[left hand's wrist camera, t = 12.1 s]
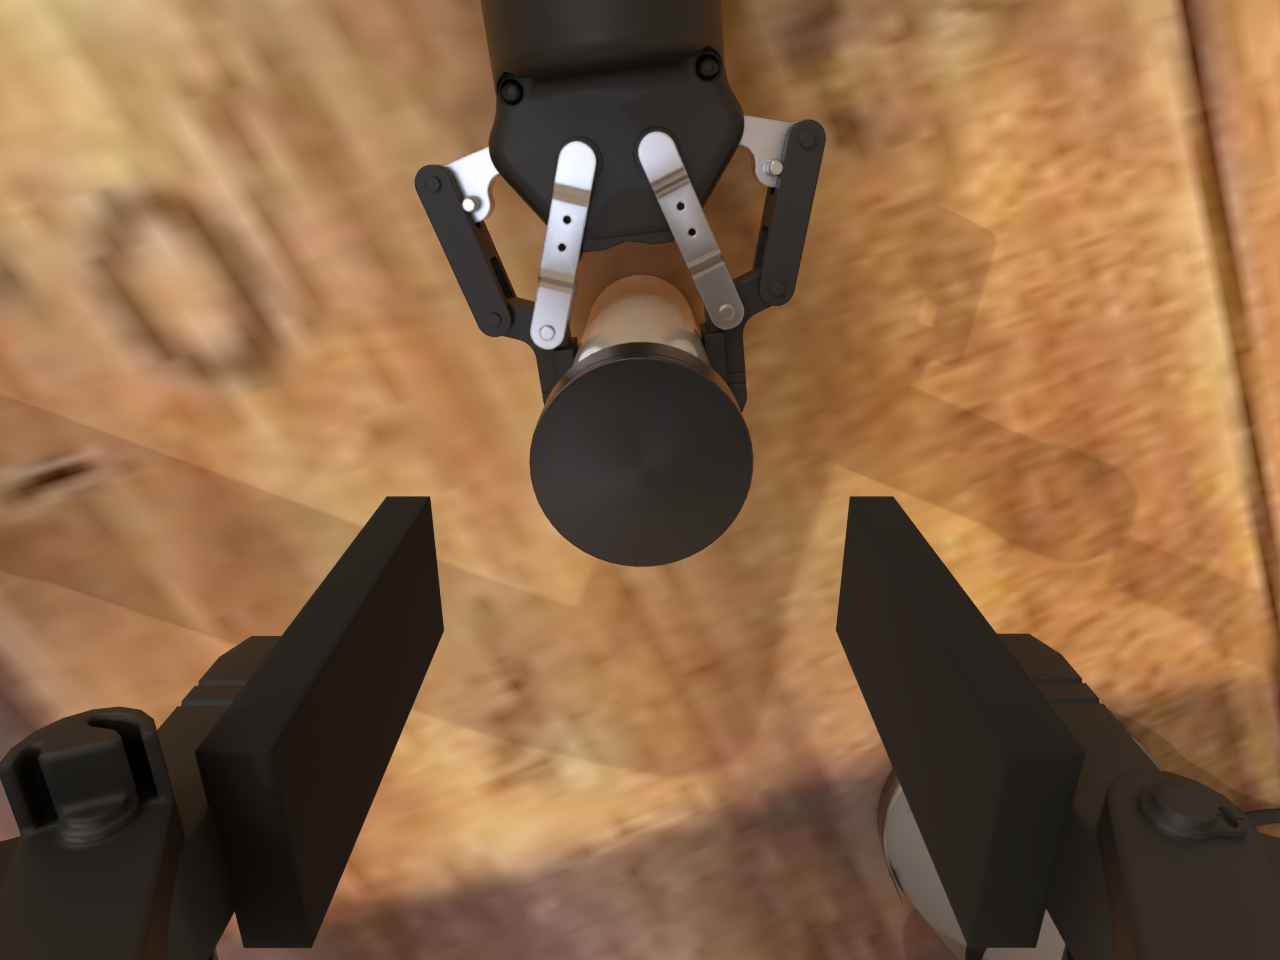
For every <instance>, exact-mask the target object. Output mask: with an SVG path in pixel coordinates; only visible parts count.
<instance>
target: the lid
mask: <svg viewBox="0 0 1280 960" xmlns="http://www.w3.org/2000/svg"><path fill="white" fill-rule="evenodd" d="M530 474H531V480H532V485H533V489H534V492H535V495H536V497H537V500H538V503H539V505H540V506H541V508H542V510H543V512H544V514H545V515H546V517H547V518H548V520H549V521H550V522H551V524H552V525H553V526H554V527H555V529H556V530H557V531H558V532H559V533H560V534H561V535H562V536H563V537H564V538H566V539H567V540H568V541H569V542H570V543H572V544H573V545H574V546H576V547H577V548H579V549H581V550H582V551H584V552H586V553H588V554H590V555H592V556H594V557H596V558H598V559H601V560H604V561H607V562H610V563H615V564H620V565H625V566H636V567H643V566H657V565H664V564H668V563H672V562H676V561H679V560H682V559H684V558H687V557H689V556H692V555H693V554H695V553H697V552H699V551H701V550H703V549H704V548H706V547H707V546H708V545H710V544H711V543H713V542H714V541H715V540H716V539H717V538H718V537H720V536H721V535H722V534H723V533H724V532H725V531H726V530H727V528H728V527H729V526H730V525H731V524H732V523H733V521H734V520H735V518H736V517H737V515H738V514H739V512H740V510H741V508H742V506H743V504H744V502H745V500H746V498H747V495H748V492H749V488H750V485H751V480H752V474H753V450H752V443H751V439H750V435H749V431H748V428H747V426H746V423H745V421H744V418H743V416H742V413H741V411H740V408H739V406H738V404H737V401H736V399H735V397H734V395H733V393H732V392H731V390H730V388H729V387H728V385H727V384H726V383H725V382H724V380H723V379H722V378H721V376H720V375H719V374H718V373H716V372H715V371H714V370H713V369H712V368H711V367H710V366H709V365H708V364H706V363H705V362H703V361H702V360H701V359H699V358H698V357H696V356H694V355H692V354H690V353H688V352H686V351H684V350H681V349H679V348H676V347H673V346H669V345H665V344H661V343H652V342H630V343H623V344H617V345H614V346H610V347H607V348H604V349H602V350H599V351H597V352H595V353H592V354H591V355H589V356H587V357H586V358H584V359H582V360H581V361H579V362H578V363H577V364H575V365H574V366H573V367H572V368H571V369H569V370H568V371H567V372H566V373H565V374H564V376H563V377H562V378H561V379H560V380H559V381H558V383H557V384H556V385H555V387H554V388H553V390H552V391H551V393H550V395H549V397H548V399H547V401H546V403H545V405H544V408H543V410H542V413H541V415H540V418H539V420H538V423H537V426H536V429H535V431H534V434H533V439H532V443H531V448H530Z"/></svg>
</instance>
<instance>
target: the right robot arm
mask: <svg viewBox="0 0 1280 960" xmlns="http://www.w3.org/2000/svg"><path fill="white" fill-rule="evenodd" d="M481 5H482V11H483V18H484V24H485V30H486V36H487V42H488V49H489V55H490V61H491V67H492V73H493V80H494V86H495V92H496V115H495V120H494V124H493V127H492V130H491V133H490V136H489V147H486V148H484V149H482V150H479V151H477V152H475V153H472V154H470V155H468V156H465V157H463V158H461V159H458V160H456V161H454V162H451V163H449V164H446V165H426V166H424V167H422V168H421V169H420V170H419V171H418V173H417V174H416V177H415V188H416V191H417V193H418V195H419V197H420V200H421V202H422V204H423V206H424V208H425V211H426V213H427V215H428V217H429V219H430V222H431V224H432V226H433V228H434V230H435V232H436V235H437V237H438V239H439V241H440V243H441V246H442V248H443V250H444V252H445V254H446V257H447V259H448V261H449V263H450V265H451V267H452V270H453V272H454V274H455V276H456V278H457V281H458V283H459V285H460V287H461V289H462V292H463V294H464V296H465V298H466V300H467V302H468V305H469V307H470V309H471V311H472V313H473V316H474V318H475V320H476V322H477V324H478V326H479V328H480V330H481V331H482V332H483V333H484V334H486V335H488V336H491V337H499V336H505V337H510V338H514V339H518V340H521V341H524V342H526V343H527V344H528V345H529V346H531V348H532V349H533V350H534V352H535V355H536V358H537V364H538V371H539V377H540V383H541V389H542V394H543V402H544V405H545V403H546V401H547V399H548V397H549V395H550V393H551V391H552V390H553V388H554V387H555V385H556V384H557V383H558V381H559V380H560V379H561V378H562V377H563V376H564V374H565V373H566V372H567V371H568V370H569V369H571V368H572V365H573V362H574V359H575V356H576V353H577V350H578V340H577V337H571V333H570V326H569V325H570V320H571V315H572V310H573V305H574V299H575V294H576V289H577V284H578V279H579V275H580V271H581V267H582V262H583V256H584V252H590V251H599V250H606V249H608V248H611V247H613V246H616V245H618V244H620V243H623V242H625V241H633V242H640V243H646V244H658V243H667V242H674V241H673V239H675V240H676V243H677V245H678V247H679V249H680V252H681V254H682V256H683V258H684V261H685V263H686V265H687V267H688V269H689V272H690V274H691V276H692V278H693V281H694V283H695V285H696V287H697V290H698V292H699V294H700V296H701V299H702V301H703V303H704V311H705V323H700V328H701V340H702V342H703V345H704V348H705V351H706V354H707V357H708V360H709V363H710V366H711V368H712V369H713V370H714V371H715V372H716V373H718V374H719V375H720V376H721V378H722V379H723V380H724V382H725V383H726V384H727V385H728V387H729V388H730V390H731V392H732V393H733V395H734V397H735V399H736V401H737V404H738V406H739V408H740V411H741V412H743V409H744V406H745V403H746V400H747V392H746V377H745V363H744V348H743V329H744V326H745V324H746V322H747V321H748V319H749V318H750V317H751V316H753V315H754V314H756V313H758V312H760V311H762V310H764V309H766V308H768V307H770V306H780V305H783V304H785V303H787V302H788V301H789V300H790V299H791V297H792V296H793V293H794V290H795V285H796V280H797V275H798V271H799V266H800V261H801V256H802V251H803V247H804V242H805V237H806V232H807V227H808V223H809V218H810V213H811V208H812V204H813V199H814V194H815V189H816V184H817V180H818V175H819V170H820V165H821V160H822V156H823V151H824V146H825V140H826V136H825V132H824V129H823V127H822V126H821V125H820V124H819V123H818V122H816V121H814V120H799V121H795V122H785V121H779V120H772V119H766V118H759V117H753V116H747V115H744V114H743V111H742V108H741V106H740V104H739V102H738V100H737V99H736V97H735V95H734V94H733V92H732V90H731V88H730V86H729V83H728V80H727V76H726V71H725V64H724V49H723V34H722V19H721V4H720V0H481ZM738 146H741V147H743V148H744V149H746V150H747V151H748V153H749V154H750V156H751V160H752V174H753V177H754V179H755V180H756V181H757V182H758V183H759V184H761V185H763V186H768V190H767V195H766V200H765V206H764V211H763V216H762V221H761V227H760V232H759V237H758V243H757V248H756V253H755V259H754V264H753V269H752V270H751V271H749V272H747V273H745V274H743V275H741V276H739V277H737V278H735V279H733V280H732V279H731V276H730V274H729V272H728V269H727V267H726V265H725V262H724V260H723V257H722V254H721V251H720V249H719V247H718V244H717V242H716V240H715V237H714V235H713V233H712V230H711V228H710V226H709V223H708V221H707V219H706V216H705V214H704V212H703V208H704V206H705V204H706V202H707V201H708V199H709V197H710V195H711V194H712V192H713V190H714V188H715V186H716V185H717V183H718V181H719V179H720V178H721V176H722V174H723V172H724V170H725V169H726V167H727V165H728V163H729V162H730V160H731V158H732V156H733V154H734V153H735V151H736V149H737V147H738ZM500 175H501V176H502V177H503V178H504V179H505V180H506V181H507V183H508V184H509V185H510V186H511V187H512V188H513V189H514V190H515V191H516V192H517V194H518V195H519V196H520V197H521V198H522V199H523V200H524V201H525V202H526V203H527V204H528V206H529V207H530V208H531V209H532V210H533V211H534V212H535V213H536V214H537V215H538V216H539V218H540V219H541V220H542V221H543V222H544V223H545V224H546V225H547V231H546V236H545V242H544V247H543V253H542V259H541V264H540V270H539V283H538V289H537V295H536V301H535V302H534V301H530V300H526V299H522V298H518V297H517V296H516V294H515V292H514V289H513V287H512V285H511V282H510V280H509V278H508V276H507V273H506V271H505V269H504V266H503V264H502V262H501V259H500V257H499V255H498V252H497V250H496V248H495V246H494V243H493V241H492V239H491V236H490V234H489V232H488V229H487V227H486V225H485V222H484V220H485V219H487V218H488V217H490V216H491V214H492V213H493V211H494V207H495V201H494V197H493V192H492V190H493V184H494V182H495V180H496V179H497V178H498V177H499V176H500Z"/></svg>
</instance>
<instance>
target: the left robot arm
mask: <svg viewBox="0 0 1280 960" xmlns="http://www.w3.org/2000/svg"><path fill="white" fill-rule="evenodd" d="M443 632H444V626H443V616H442V606H441V597H440V587H439V578H438V568H437V558H436V549H435V539H434V529H433V520H432V510H431V501H430V497H386V498H385V500H384V501H383V502H382V504H381V505H380V506H379V508H378V509H377V510H376V512H375V513H374V514H373V516H372V517H371V518H370V520H369V521H368V522H367V524H366V525H365V526H364V528H363V529H362V530H361V531H360V533H359V534H358V535H357V537H356V538H355V539H354V541H353V542H352V543H351V545H350V546H349V547H348V549H347V550H346V551H345V553H344V554H343V555H342V557H341V558H340V559H339V561H338V562H337V563H336V565H335V566H334V567H333V569H332V570H331V571H330V573H329V574H328V575H327V577H326V578H325V579H324V581H323V582H322V583H321V585H320V586H319V587H318V589H317V590H316V591H315V593H314V594H313V595H312V597H311V598H310V599H309V600H308V602H307V603H306V604H305V606H304V607H303V608H302V610H301V611H300V612H299V614H298V615H297V616H296V618H295V619H294V620H293V622H292V623H291V624H290V626H289V627H288V628H287V630H286V631H285V632H284V634H283V635H282V636H251V637H250V638H248V639H246V640H245V641H243V642H242V643H240V644H239V645H237V646H236V647H234V648H233V649H231V650H229V651H228V652H226V653H225V654H223V655H222V656H220V657H219V658H218V659H217V660H216V662H215V663H214V664H213V665H212V666H211V667H210V669H209V670H208V671H207V672H206V673H205V675H204V676H203V677H202V678H201V679H200V680H199V685H198V686H194V688H193V689H192V690H191V691H190V692H189V693H188V695H187V696H186V697H185V698H184V699H183V701H182V705H181V707H177V708H176V709H175V710H174V711H173V712H172V714H171V715H170V716H169V717H168V718H167V719H166V721H165V722H164V723H163V724H162V725H161V727H160V728H159V729H158V730H156V726H155V722H154V719H153V718H151V717H150V716H149V715H147V714H146V713H145V712H143V711H142V710H138V709H131V708H125V707H113V708H103V709H93V710H90V711H86V712H83V713H79V714H76V715H72V716H69V717H66V718H63V719H60V720H58V721H56V722H54V723H52V724H50V725H48V726H46V727H44V728H42V729H39V730H37V731H35V732H34V733H32V734H31V735H29V736H28V737H27V738H25V739H24V740H22V741H21V742H20V743H18V744H17V745H16V746H14V747H13V748H11V749H10V751H9V752H8V753H7V754H6V756H5V757H4V758H3V759H2V761H1V762H0V779H1V781H2V784H3V787H4V790H5V792H6V795H7V798H8V800H9V803H10V806H11V809H12V811H13V814H14V817H15V819H16V822H17V825H18V828H19V830H20V833H21V836H20V837H16V838H13V839H9V840H5V841H0V960H219V959H218V955H217V951H216V948H215V947H216V945H217V943H218V941H219V939H220V937H221V936H222V934H223V932H224V930H225V928H226V926H227V925H228V923H229V921H230V919H231V917H232V915H233V913H234V912H235V914H236V918H237V922H238V926H239V930H240V934H241V938H242V942H243V946H244V948H312V946H313V943H314V941H315V939H316V936H317V934H318V931H319V929H320V927H321V924H322V922H323V919H324V917H325V915H326V912H327V910H328V907H329V905H330V903H331V900H332V898H333V895H334V893H335V891H336V888H337V886H338V883H339V881H340V879H341V876H342V874H343V871H344V869H345V867H346V864H347V862H348V859H349V857H350V855H351V852H352V850H353V847H354V845H355V843H356V840H357V838H358V835H359V833H360V831H361V828H362V826H363V823H364V821H365V819H366V816H367V814H368V811H369V809H370V807H371V804H372V802H373V799H374V797H375V795H376V792H377V790H378V787H379V785H380V783H381V780H382V778H383V775H384V773H385V771H386V768H387V766H388V764H389V761H390V759H391V756H392V754H393V752H394V749H395V747H396V744H397V742H398V740H399V737H400V735H401V732H402V730H403V728H404V725H405V723H406V720H407V718H408V716H409V713H410V711H411V708H412V706H413V704H414V701H415V699H416V696H417V694H418V692H419V689H420V687H421V684H422V682H423V680H424V677H425V675H426V672H427V670H428V668H429V665H430V663H431V660H432V658H433V656H434V653H435V651H436V648H437V646H438V644H439V641H440V639H441V636H442V634H443ZM836 632H837V634H838V636H839V639H840V641H841V644H842V646H843V648H844V651H845V653H846V656H847V658H848V660H849V663H850V665H851V668H852V670H853V672H854V675H855V677H856V680H857V682H858V684H859V687H860V689H861V692H862V694H863V696H864V699H865V701H866V704H867V706H868V708H869V711H870V713H871V716H872V718H873V720H874V723H875V725H876V728H877V730H878V732H879V735H880V737H881V740H882V742H883V744H884V747H885V749H886V752H887V754H888V756H889V759H890V761H891V764H892V766H893V770H892V772H891V773H890V775H889V777H888V779H887V781H886V783H885V785H884V788H883V790H882V793H881V797H880V800H879V805H878V812H877V828H878V835H879V839H880V843H881V846H882V849H883V851H884V854H885V857H886V860H887V863H888V866H889V868H890V870H889V868H888V870H889V873H890V871H891V873H892V875H893V877H894V879H895V881H896V882H897V884H898V885H899V887H900V888H901V890H902V892H903V893H904V895H905V896H906V897H907V899H908V900H909V901H910V902H911V903H912V905H913V906H914V907H915V908H916V909H917V911H918V912H919V913H920V914H921V916H922V917H923V918H924V919H925V920H926V922H927V923H928V924H929V925H930V926H931V928H932V929H933V930H934V931H935V932H936V934H937V935H938V936H939V937H940V939H941V940H942V941H943V942H944V943H945V945H946V946H947V947H948V948H949V949H950V951H951V952H952V953H953V954H954V955H955V957H956V958H957V959H958V960H1280V838H1277V837H1273V836H1269V835H1265V834H1262V833H1259V832H1258V831H1257V830H1256V828H1255V827H1254V826H1258V825H1264V824H1272V823H1280V808H1279V809H1265V810H1257V811H1250V812H1243V811H1242V810H1240V809H1239V808H1238V807H1237V806H1236V805H1234V804H1233V803H1232V802H1231V801H1229V800H1228V799H1227V798H1226V797H1225V796H1223V795H1221V794H1219V793H1218V792H1216V791H1214V790H1212V789H1210V788H1208V787H1206V786H1205V785H1203V784H1201V783H1199V782H1197V781H1195V780H1191V779H1188V778H1185V777H1182V776H1179V775H1176V774H1173V773H1170V772H1165V771H1160V769H1159V767H1158V765H1157V763H1156V762H1155V760H1154V759H1153V757H1152V756H1151V755H1150V754H1149V753H1148V751H1147V750H1146V749H1145V748H1144V747H1143V746H1142V744H1141V743H1140V742H1139V741H1138V740H1137V739H1136V738H1135V736H1134V735H1133V734H1132V733H1131V732H1130V731H1129V730H1128V729H1127V728H1126V727H1125V726H1124V725H1123V724H1122V723H1121V722H1119V721H1118V720H1117V719H1116V718H1115V717H1114V716H1113V715H1112V713H1111V712H1110V711H1109V710H1108V709H1107V708H1106V706H1105V705H1104V704H1100V703H1099V698H1098V697H1097V696H1096V695H1095V693H1094V692H1093V691H1092V690H1091V689H1090V688H1089V686H1088V685H1087V684H1086V683H1082V678H1081V677H1080V676H1079V675H1078V674H1077V672H1076V671H1075V670H1074V669H1073V668H1072V667H1071V665H1070V664H1069V663H1068V662H1067V661H1066V659H1065V658H1064V657H1063V656H1062V655H1061V654H1060V653H1058V652H1057V651H1055V650H1053V649H1052V648H1050V647H1049V646H1047V645H1046V644H1044V643H1043V642H1041V641H1039V640H1038V639H1036V638H1035V637H1033V636H1032V635H1030V634H996V632H995V631H994V630H993V628H992V627H991V626H990V624H989V623H988V622H987V620H986V619H985V618H984V616H983V615H982V614H981V612H980V611H979V610H978V608H977V607H976V606H975V604H974V603H973V602H972V600H971V599H970V598H969V597H968V595H967V594H966V593H965V591H964V590H963V589H962V587H961V586H960V585H959V583H958V582H957V581H956V579H955V578H954V577H953V575H952V574H951V573H950V571H949V570H948V569H947V567H946V566H945V565H944V563H943V562H942V561H941V559H940V558H939V557H938V555H937V554H936V553H935V551H934V550H933V549H932V547H931V546H930V545H929V543H928V542H927V541H926V539H925V538H924V537H923V535H922V534H921V533H920V531H919V530H918V529H917V528H916V526H915V525H914V524H913V522H912V521H911V520H910V518H909V517H908V516H907V514H906V513H905V512H904V510H903V509H902V508H901V506H900V505H899V504H898V502H897V501H896V500H895V498H894V497H850V501H849V510H848V520H847V529H846V539H845V549H844V558H843V568H842V578H841V587H840V597H839V606H838V616H837V626H836ZM887 863H886V864H887ZM888 866H887V867H888ZM891 873H890V875H891ZM892 875H891V878H892ZM892 880H893V878H892ZM893 882H894V880H893ZM894 885H895V882H894ZM895 887H896V885H895ZM896 890H897V892H898V889H897V887H896ZM898 894H899V892H898ZM899 897H900V895H899ZM900 899H901V898H900ZM901 901H902V900H901ZM902 904H903V903H902Z"/></svg>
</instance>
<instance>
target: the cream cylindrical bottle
mask: <svg viewBox="0 0 1280 960" xmlns="http://www.w3.org/2000/svg"><path fill="white" fill-rule="evenodd" d="M630 342H652V343H661V344H665V345H669V346H673V347H676V348H679V349H681V350H684V351H686V352H688V353H690V354H692V355H694V356H696V357H698V358H699V359H701V360H702V361H703V362H705V363H706V364H708V365H709V366H710V363H709V360H708V357H707V354H706V351H705V348H704V345H703V342H702V340H701V337H700V334H699V331H698V328H697V325H696V322H695V319H694V316H693V313H692V311H691V308H690V306H689V304H688V302H687V300H686V298H685V297H684V296H683V294H682V293H681V292H680V291H679V290H678V289H677V288H676V287H675V286H673V285H672V284H671V283H669V282H667V281H665V280H663V279H661V278H658V277H655V276H651V275H632V276H627V277H624V278H621V279H619V280H617V281H615V282H613V283H612V284H610V285H609V286H608V287H607V288H605V289H604V290H603V291H602V293H601V294H600V295H599V296H598V298H597V299H596V301H595V302H594V304H593V306H592V309H591V312H590V315H589V318H588V321H587V323H586V326H585V329H584V332H583V335H582V338H581V341H580V344H579V347H578V350H577V353H576V356H575V359H574V362H573V365H572V367H573V366H574V365H575V364H577V363H578V362H579V361H581V360H582V359H584V358H586V357H587V356H589V355H591V354H592V353H595V352H597V351H599V350H602V349H604V348H607V347H610V346H614V345H617V344H623V343H630ZM710 367H711V366H710Z"/></svg>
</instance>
